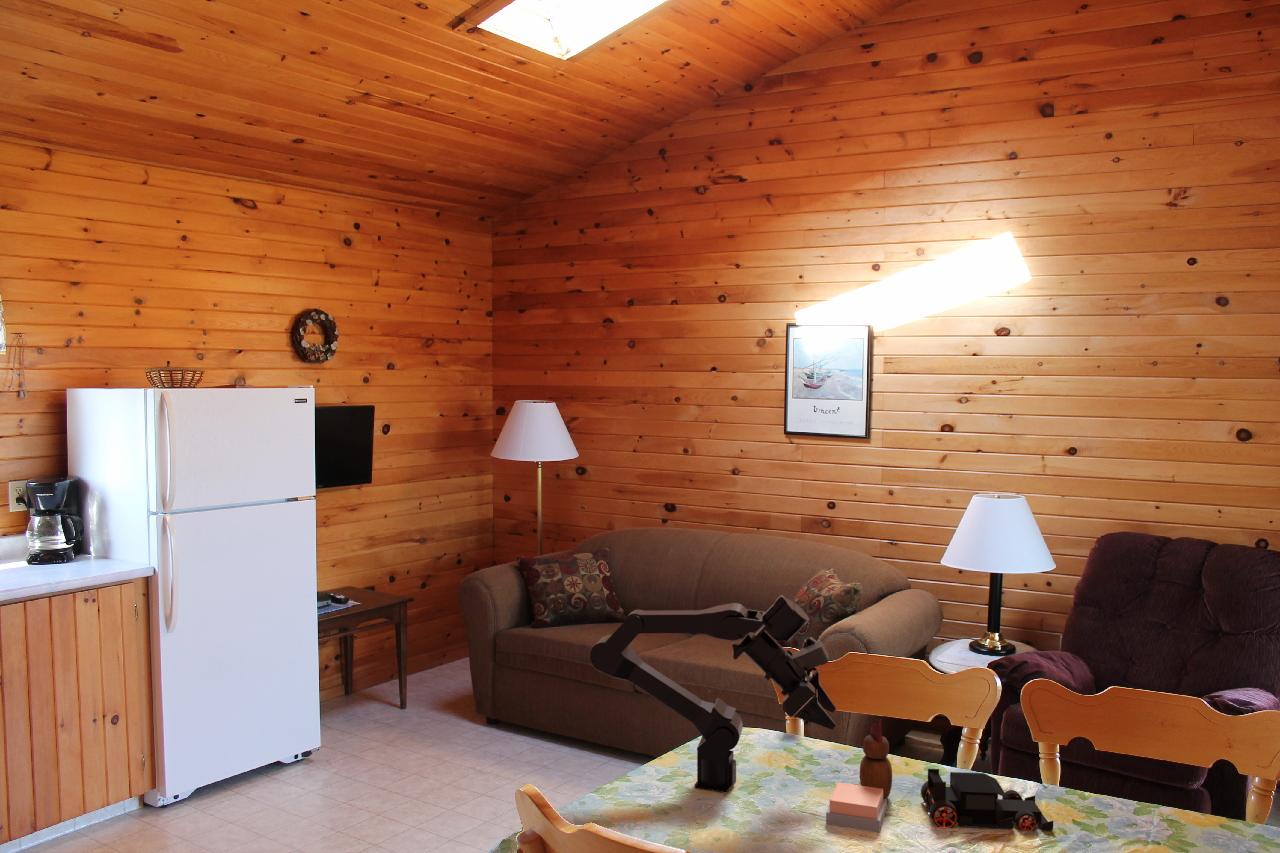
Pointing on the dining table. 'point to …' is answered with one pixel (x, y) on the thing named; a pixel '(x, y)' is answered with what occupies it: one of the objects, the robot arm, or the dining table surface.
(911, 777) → the dining table surface
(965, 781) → the black toy car
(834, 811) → the brick plinth
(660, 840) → the dining table surface
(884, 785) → the wooden figurine
